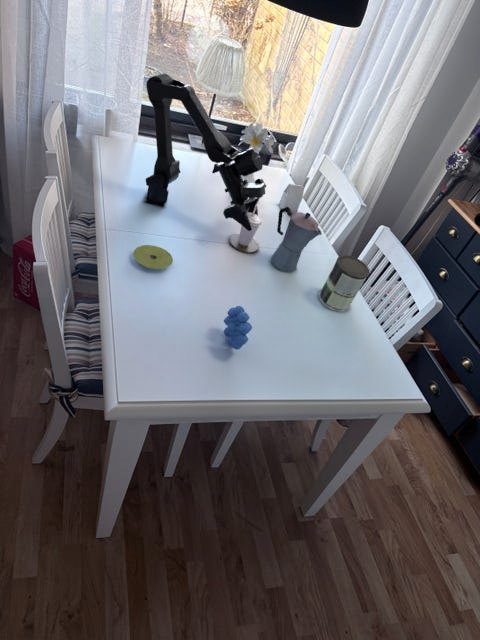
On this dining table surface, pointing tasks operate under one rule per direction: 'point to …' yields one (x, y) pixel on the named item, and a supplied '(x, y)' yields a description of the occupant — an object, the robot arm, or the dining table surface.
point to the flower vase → (256, 142)
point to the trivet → (245, 249)
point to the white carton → (292, 197)
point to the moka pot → (294, 239)
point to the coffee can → (343, 283)
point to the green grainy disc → (153, 257)
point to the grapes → (237, 327)
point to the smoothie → (255, 223)
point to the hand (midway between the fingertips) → (254, 226)
